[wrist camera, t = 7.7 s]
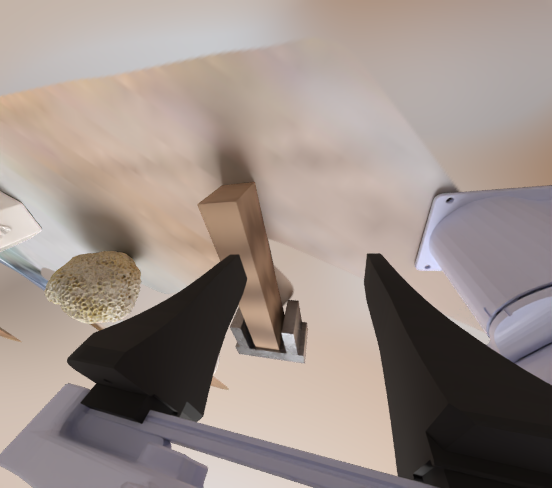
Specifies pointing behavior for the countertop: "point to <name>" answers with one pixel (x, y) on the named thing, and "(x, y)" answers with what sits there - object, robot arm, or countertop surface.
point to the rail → (247, 257)
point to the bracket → (290, 342)
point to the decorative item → (96, 287)
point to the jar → (15, 223)
